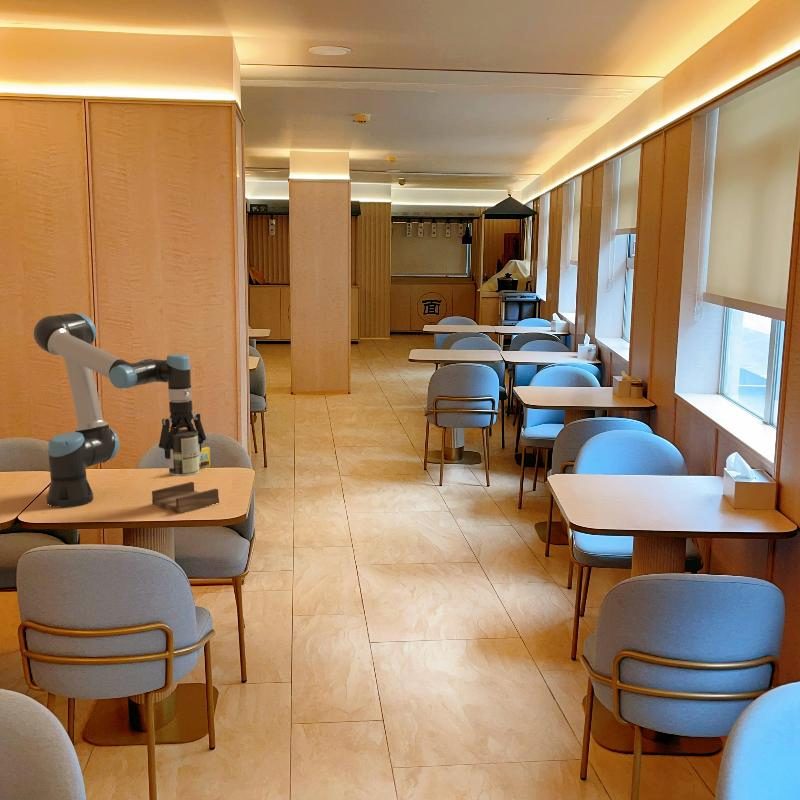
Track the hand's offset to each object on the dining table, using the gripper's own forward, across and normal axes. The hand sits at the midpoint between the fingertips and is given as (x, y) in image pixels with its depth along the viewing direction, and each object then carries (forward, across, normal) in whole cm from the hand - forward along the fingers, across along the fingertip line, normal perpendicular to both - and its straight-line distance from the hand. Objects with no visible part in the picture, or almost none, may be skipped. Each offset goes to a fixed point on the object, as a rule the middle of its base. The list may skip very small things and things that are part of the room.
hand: (184, 464), depth 307 cm
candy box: (+14, +30, +37) cm, 50 cm away
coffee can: (+3, 0, 0) cm, 3 cm away
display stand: (+14, 0, 0) cm, 14 cm away
